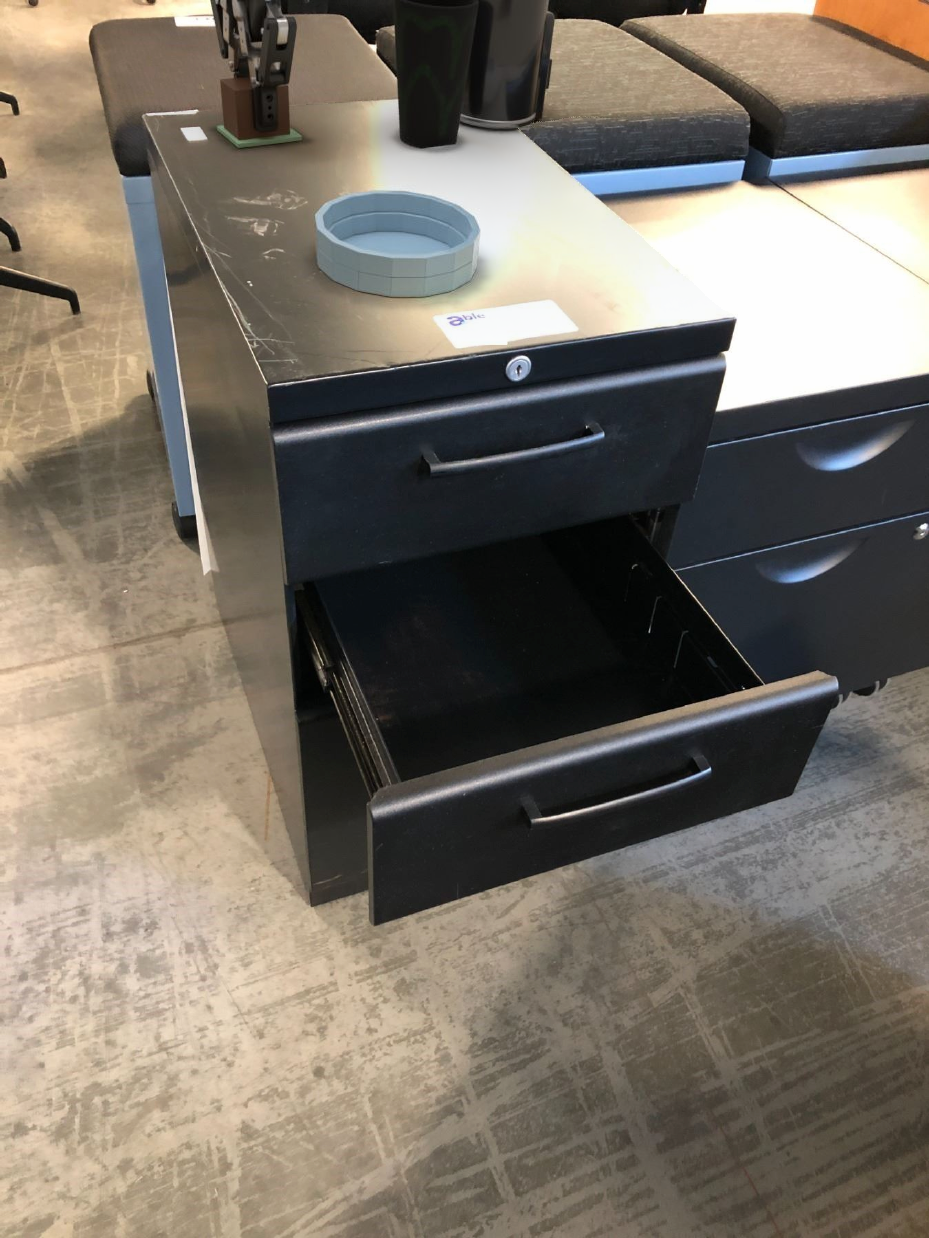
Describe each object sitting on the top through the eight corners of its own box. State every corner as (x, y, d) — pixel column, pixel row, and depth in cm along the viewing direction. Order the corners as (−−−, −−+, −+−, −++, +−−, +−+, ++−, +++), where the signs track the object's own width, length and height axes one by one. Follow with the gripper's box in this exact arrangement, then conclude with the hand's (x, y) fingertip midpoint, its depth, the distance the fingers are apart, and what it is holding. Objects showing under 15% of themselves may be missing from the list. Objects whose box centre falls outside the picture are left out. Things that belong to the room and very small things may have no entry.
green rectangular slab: (279, 123, 94) (279, 118, 94) (302, 140, 91) (301, 136, 91) (217, 130, 91) (216, 125, 91) (238, 148, 89) (238, 143, 88)
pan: (423, 225, 80) (425, 182, 77) (505, 287, 73) (510, 241, 70) (289, 249, 74) (287, 203, 72) (364, 318, 68) (364, 269, 65)
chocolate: (275, 122, 93) (272, 74, 90) (290, 134, 91) (288, 85, 88) (223, 128, 91) (219, 79, 88) (238, 140, 89) (234, 90, 86)
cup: (458, 158, 91) (469, 12, 83) (380, 145, 92) (383, -1, 84) (473, 132, 97) (485, -7, 88) (399, 121, 97) (404, -19, 89)
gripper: (325, -86, 76) (328, 145, 88) (251, -119, 84) (262, 97, 96) (236, -86, 73) (251, 154, 85) (168, -120, 81) (190, 103, 93)
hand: (257, 122), depth 90 cm, fingers closed on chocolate, 3 cm apart
